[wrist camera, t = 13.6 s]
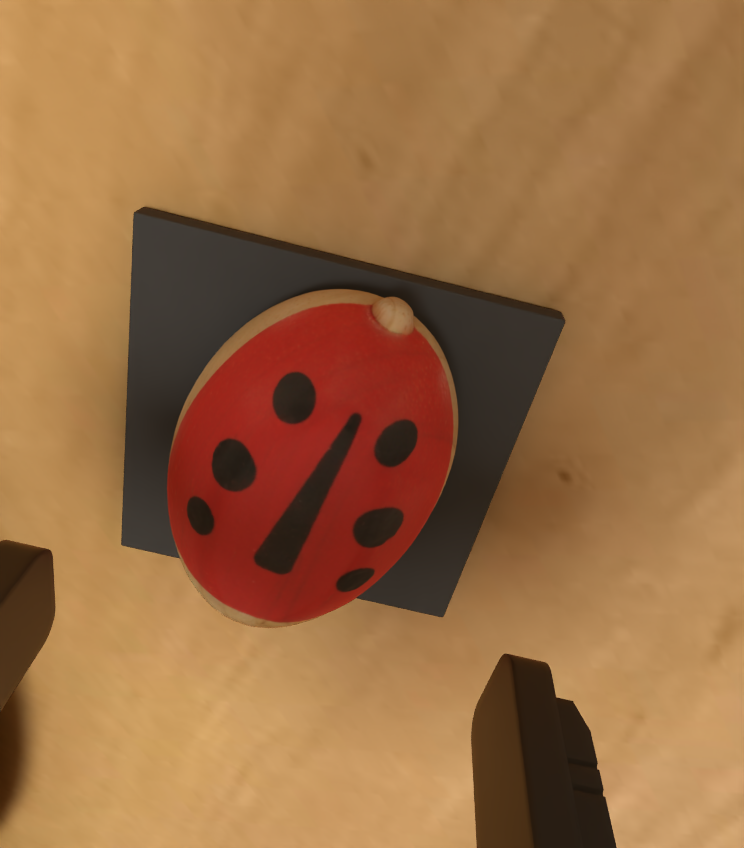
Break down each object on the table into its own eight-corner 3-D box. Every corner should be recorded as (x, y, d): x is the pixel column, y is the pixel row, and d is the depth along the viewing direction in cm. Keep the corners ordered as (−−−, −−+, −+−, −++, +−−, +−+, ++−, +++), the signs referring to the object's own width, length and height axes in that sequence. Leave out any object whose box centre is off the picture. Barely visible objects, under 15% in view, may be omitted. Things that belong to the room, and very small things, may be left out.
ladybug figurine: (150, 531, 19) (96, 624, 16) (247, 213, 14) (198, 260, 11) (360, 606, 20) (348, 709, 17) (522, 333, 15) (546, 407, 12)
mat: (143, 206, 15) (132, 211, 14) (561, 311, 15) (566, 320, 15) (128, 532, 20) (120, 545, 19) (443, 603, 20) (443, 618, 20)
